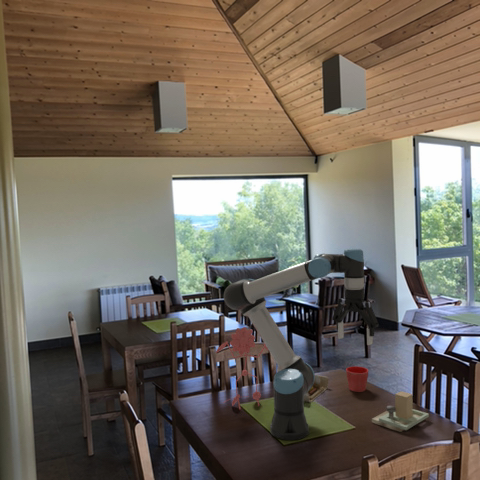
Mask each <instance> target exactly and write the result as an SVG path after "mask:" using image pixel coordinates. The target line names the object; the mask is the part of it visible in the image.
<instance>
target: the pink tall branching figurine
mask: <svg viewBox="0 0 480 480" xmlns="http://www.w3.org/2000/svg"><path fill="white" fill-rule="evenodd" d="M255 339H256V336H255V335H254V334H253V329H250V328H249V329H247V327H242V328H239V327H238V328H236V329H235V333H231V341H230V342H229V341H228V340H227V341H225V342H223V343H222V344H221V345H219V346H218V348H217V349H216V352H215V353H216V354H218V353H219V352H220V351H222V350H224V349H225V347H228V349H229V350H230V353H231V355H232V357H233V359H237V358H241V357H245V361H244V366H243V370H242V371H241V374H240V376H239V377H238V378H237V379H236V381H235V388H236V389H235V391H236V395H235V397H233V398H230V399H226V400H225V401H224V403H226V402H227V401H229V400H230V401H231V400H232V399H233V400H232V402H231V405H232V407H233V406H234V405H235V404H236V403H237V404H238V408H239V410H240V411H241V409H242V408H241V404H240V398H241V395H240V394H238V386H237V385H238V384H237V383H238V381H239V379H240V378H241V377H242V376H243V377H246V376H248V375H250V376H251V377H254V378H256V381H258V376H256V375H253V374H251V373H249V371H248V370H246V365H247V362H248V361H247V360H248V357H252V358H259V357H260V356H261V355H262V353H263V351H264V350H267V351H268V352H270V351H269V350H268V348H267V347H266V345H265V343H264V342H263V347H262V349H261V350H260V352H259V354H257V355H253V354H252V355H251V354H249V353H250V351H251V348H255V347H256V342H255ZM231 347H232V349H231ZM235 352H238V354H239V355H237V356H235V354H234V353H235ZM247 356H248V357H247ZM255 385H256V387H255V392H253V393H252V398H253V400H255V401H257V407H260V403H259V402H260V401H259V400H260V399H261V397H262V394H261V392H260V391H258V382H256V384H255ZM244 397H245V398H247V397H250V396H249V395H248V396H244Z"/></svg>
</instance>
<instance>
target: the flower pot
mask: <svg viewBox="0 0 480 480" xmlns="http://www.w3.org/2000/svg"><path fill="white" fill-rule="evenodd" d="M345 371H346V373H345V374H346V378H347V384H348V389H349V391H351V392H358V393H362V392H365V391H366V389H367V384H368V383H367V382H368V378H369V377H368V376H369V369H368V368H366V367H363V366H354V365H353V366H348V367H347V368H345Z"/></svg>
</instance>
